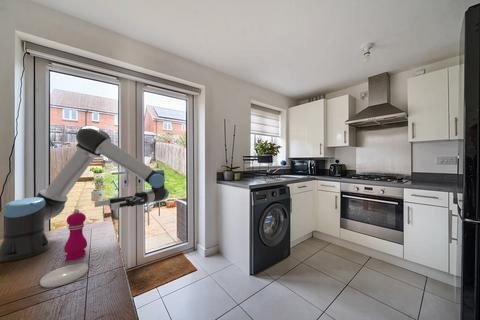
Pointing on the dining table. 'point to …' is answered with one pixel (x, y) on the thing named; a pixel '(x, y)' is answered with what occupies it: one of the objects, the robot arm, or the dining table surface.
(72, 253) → the pepper mill
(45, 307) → the dining table surface
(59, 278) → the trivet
